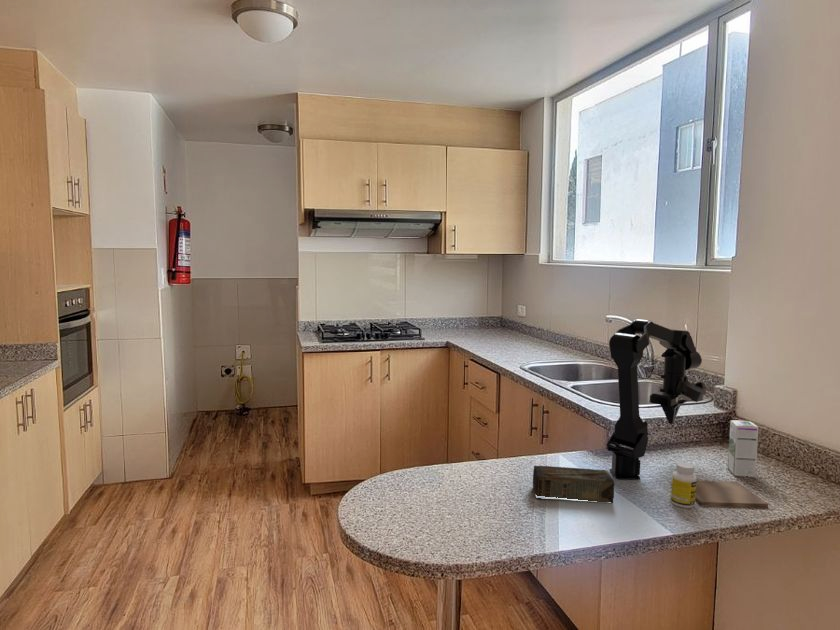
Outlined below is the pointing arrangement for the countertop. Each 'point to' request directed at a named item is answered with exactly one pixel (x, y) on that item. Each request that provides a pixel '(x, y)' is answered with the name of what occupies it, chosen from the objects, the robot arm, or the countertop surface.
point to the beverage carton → (573, 483)
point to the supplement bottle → (683, 485)
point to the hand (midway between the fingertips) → (671, 423)
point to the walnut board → (726, 495)
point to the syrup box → (743, 448)
